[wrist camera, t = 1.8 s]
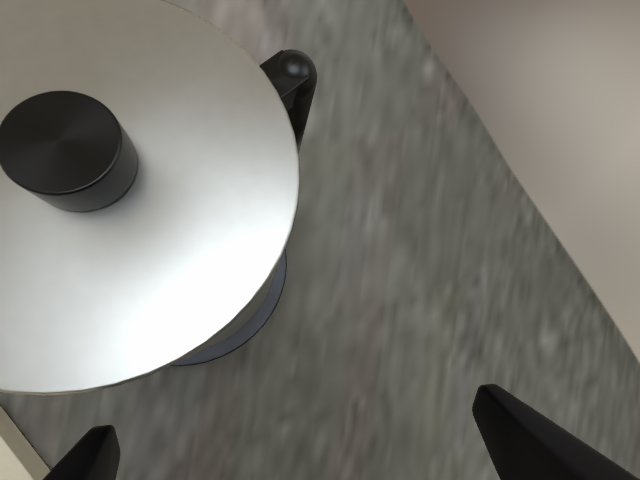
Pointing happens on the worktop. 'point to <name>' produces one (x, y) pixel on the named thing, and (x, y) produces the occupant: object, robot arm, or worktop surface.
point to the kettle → (138, 190)
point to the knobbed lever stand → (18, 454)
